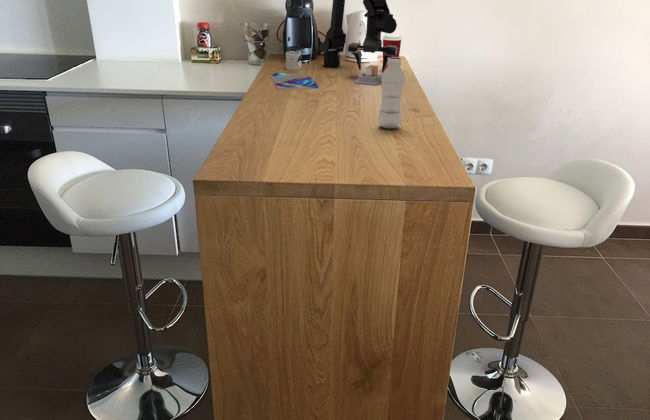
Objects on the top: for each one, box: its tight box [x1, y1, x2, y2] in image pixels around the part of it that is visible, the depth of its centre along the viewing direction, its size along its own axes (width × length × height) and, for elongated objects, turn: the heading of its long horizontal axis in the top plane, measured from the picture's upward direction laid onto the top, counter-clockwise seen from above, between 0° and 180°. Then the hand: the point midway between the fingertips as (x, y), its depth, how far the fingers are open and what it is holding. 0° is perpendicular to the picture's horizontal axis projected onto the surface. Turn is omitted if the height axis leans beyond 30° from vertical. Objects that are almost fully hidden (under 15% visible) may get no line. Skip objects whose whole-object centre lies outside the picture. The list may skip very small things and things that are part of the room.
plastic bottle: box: [377, 57, 406, 129], centre depth 164 cm, size 6×7×20 cm
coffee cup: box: [381, 33, 403, 71], centre depth 240 cm, size 8×8×15 cm
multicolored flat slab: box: [270, 72, 320, 90], centre depth 220 cm, size 25×15×2 cm, turn 11°
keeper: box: [353, 66, 382, 87], centre depth 226 cm, size 9×18×6 cm, turn 164°
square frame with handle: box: [357, 64, 379, 83], centre depth 226 cm, size 14×6×4 cm, turn 164°
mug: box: [285, 50, 302, 71], centre depth 244 cm, size 10×7×7 cm
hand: (371, 71), depth 227 cm, fingers open, 9 cm apart
